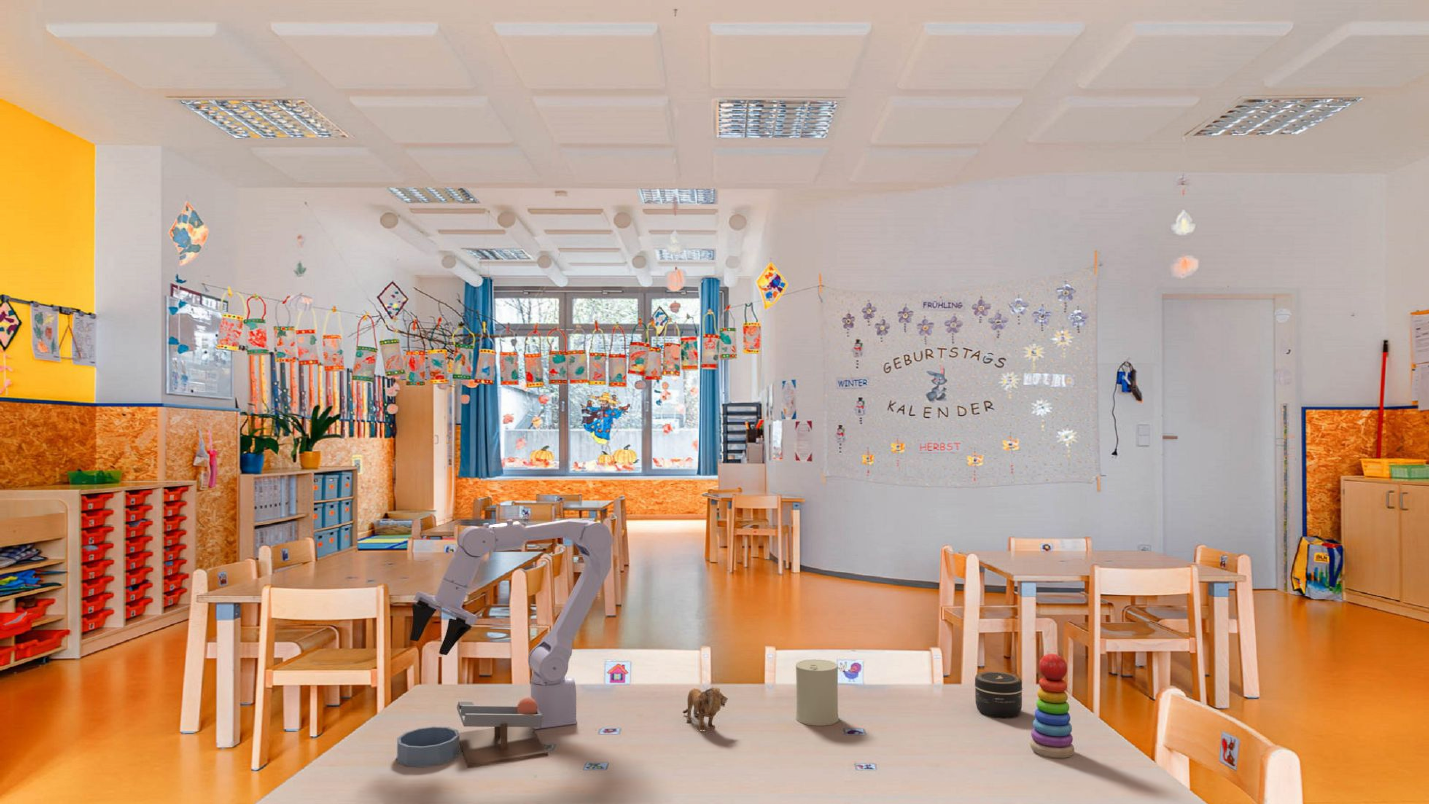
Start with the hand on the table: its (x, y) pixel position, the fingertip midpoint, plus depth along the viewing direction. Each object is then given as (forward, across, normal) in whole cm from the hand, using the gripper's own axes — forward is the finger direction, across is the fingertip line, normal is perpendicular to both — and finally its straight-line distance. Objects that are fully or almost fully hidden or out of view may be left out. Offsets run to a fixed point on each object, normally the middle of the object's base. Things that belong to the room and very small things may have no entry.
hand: (428, 647), depth 175 cm
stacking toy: (-25, +117, +35) cm, 125 cm away
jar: (-29, +106, +56) cm, 123 cm away
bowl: (+18, +10, -1) cm, 20 cm away
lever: (+8, +16, +9) cm, 20 cm away
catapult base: (+12, +20, +8) cm, 24 cm away
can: (-13, +71, +40) cm, 83 cm away
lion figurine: (-4, +51, +30) cm, 59 cm away
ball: (+4, +21, +9) cm, 23 cm away
